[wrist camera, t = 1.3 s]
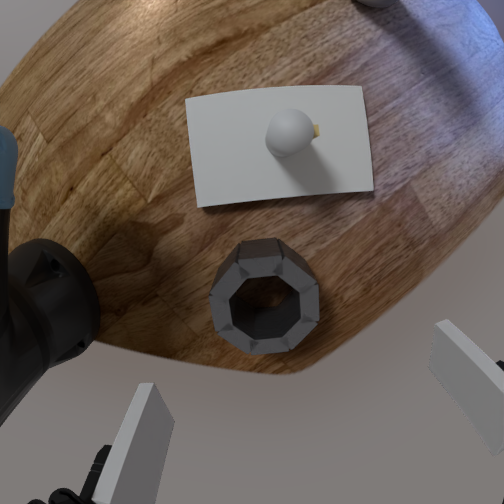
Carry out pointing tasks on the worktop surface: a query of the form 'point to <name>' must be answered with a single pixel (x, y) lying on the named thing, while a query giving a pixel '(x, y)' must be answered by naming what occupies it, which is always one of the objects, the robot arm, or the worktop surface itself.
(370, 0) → the plastic bottle
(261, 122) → the shaft stand
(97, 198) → the worktop surface
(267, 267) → the ring
